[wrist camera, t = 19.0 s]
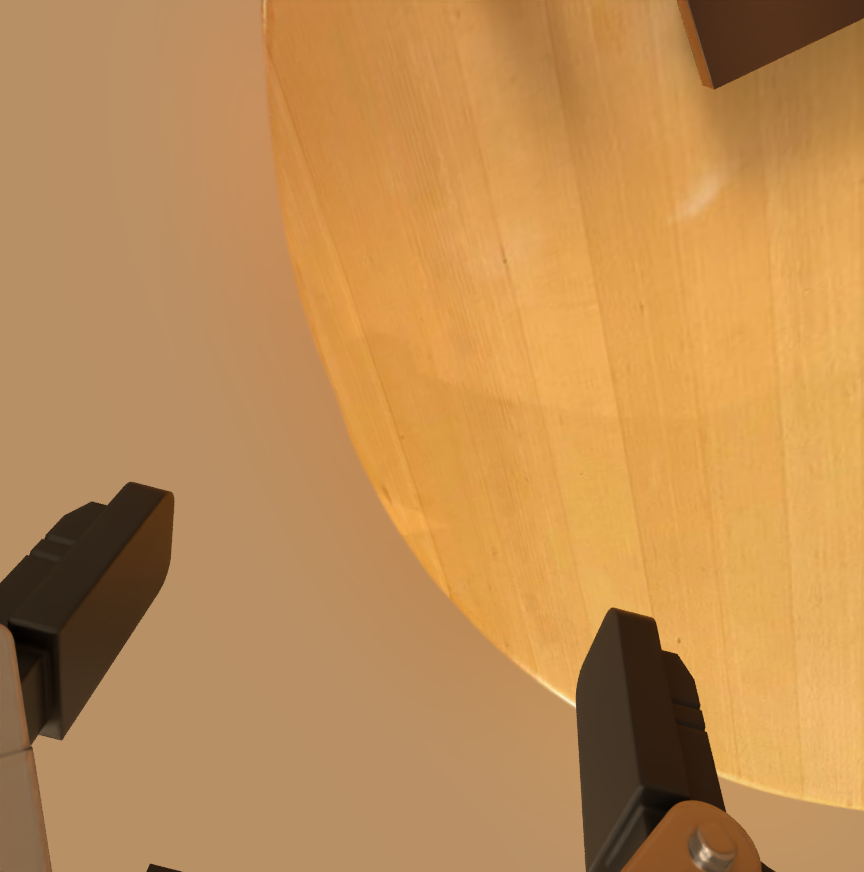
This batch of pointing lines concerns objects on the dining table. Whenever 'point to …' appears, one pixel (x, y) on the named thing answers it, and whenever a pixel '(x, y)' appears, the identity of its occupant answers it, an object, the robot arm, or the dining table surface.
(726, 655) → the dining table surface
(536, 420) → the dining table surface
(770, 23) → the scrubbing brush
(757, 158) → the dining table surface
